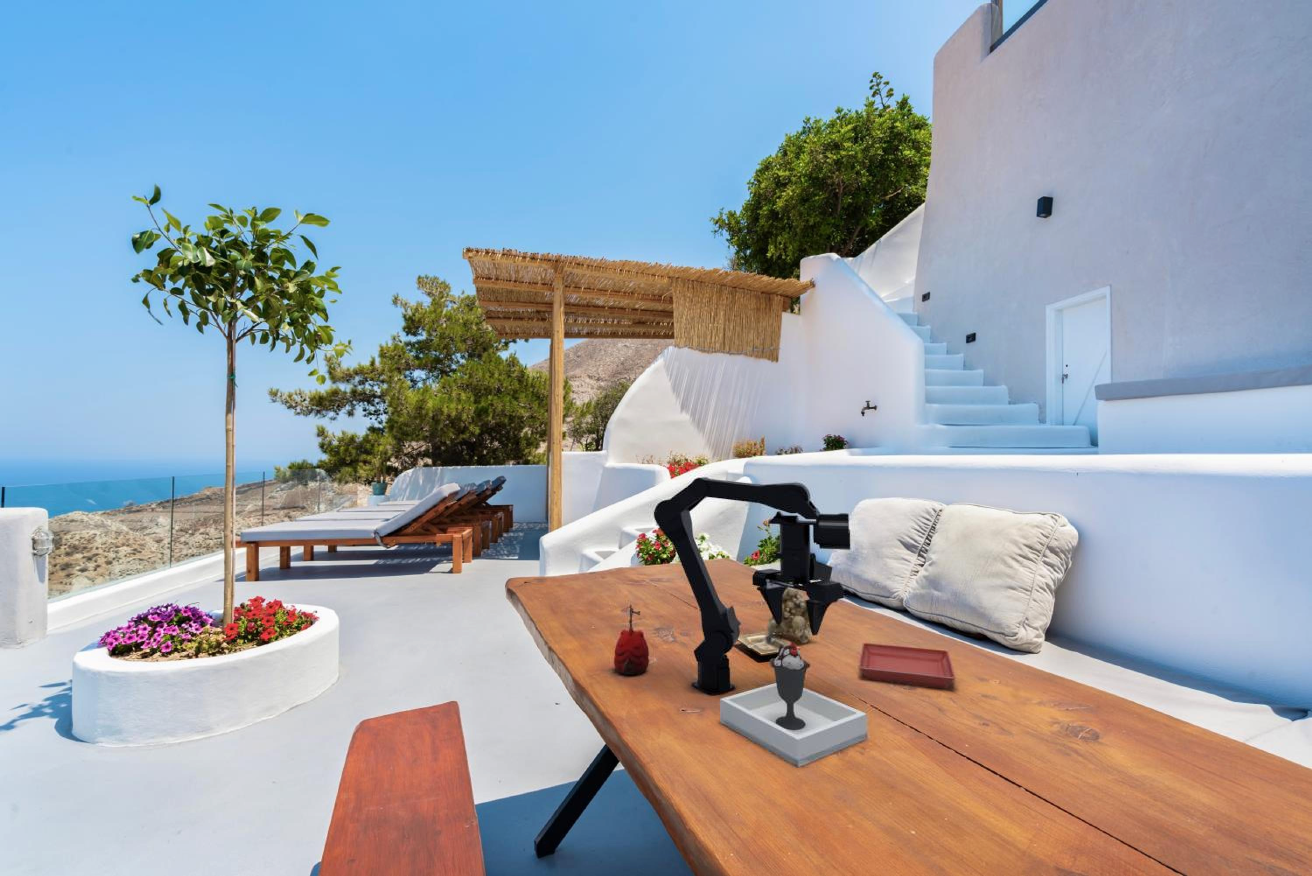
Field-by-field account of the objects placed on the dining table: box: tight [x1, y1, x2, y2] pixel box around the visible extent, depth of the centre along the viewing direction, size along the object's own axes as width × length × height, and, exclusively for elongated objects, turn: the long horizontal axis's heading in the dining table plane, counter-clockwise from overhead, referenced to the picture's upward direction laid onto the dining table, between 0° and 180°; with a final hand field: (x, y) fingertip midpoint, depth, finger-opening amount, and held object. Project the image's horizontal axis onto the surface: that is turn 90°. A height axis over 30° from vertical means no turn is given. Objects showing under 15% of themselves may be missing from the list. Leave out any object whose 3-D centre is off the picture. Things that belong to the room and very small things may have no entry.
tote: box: [719, 682, 868, 768], centre depth 99 cm, size 18×16×4 cm
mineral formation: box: [766, 582, 811, 644], centre depth 150 cm, size 8×13×15 cm, turn 42°
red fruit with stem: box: [613, 604, 650, 676], centre depth 127 cm, size 8×7×15 cm
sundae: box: [769, 636, 811, 730], centre depth 99 cm, size 7×7×15 cm
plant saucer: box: [858, 642, 956, 689], centre depth 126 cm, size 18×18×3 cm
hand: (796, 629), depth 113 cm, fingers open, 9 cm apart
